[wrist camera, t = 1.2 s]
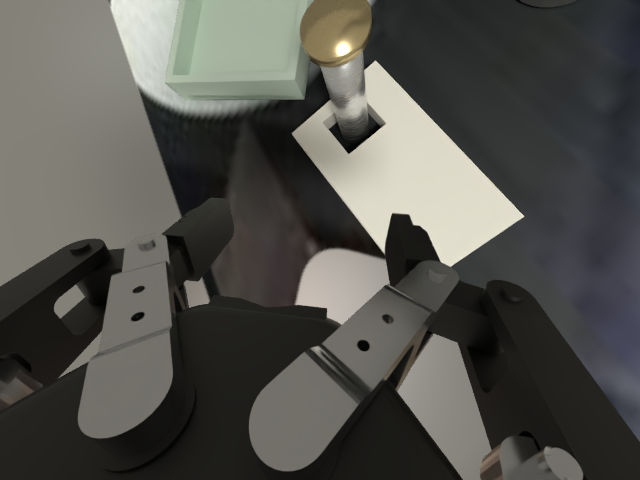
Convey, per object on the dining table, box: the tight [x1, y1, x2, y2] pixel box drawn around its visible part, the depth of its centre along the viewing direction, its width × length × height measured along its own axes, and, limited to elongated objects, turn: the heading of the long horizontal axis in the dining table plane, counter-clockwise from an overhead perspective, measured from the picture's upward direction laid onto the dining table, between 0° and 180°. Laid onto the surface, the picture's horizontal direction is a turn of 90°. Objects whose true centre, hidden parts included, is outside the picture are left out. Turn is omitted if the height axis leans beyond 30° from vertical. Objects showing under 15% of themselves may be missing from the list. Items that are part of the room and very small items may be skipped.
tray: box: [165, 0, 314, 100], centre depth 32 cm, size 18×18×4 cm
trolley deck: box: [292, 61, 524, 267], centre depth 26 cm, size 22×12×2 cm, turn 36°
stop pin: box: [300, 0, 372, 145], centre depth 22 cm, size 5×5×14 cm
